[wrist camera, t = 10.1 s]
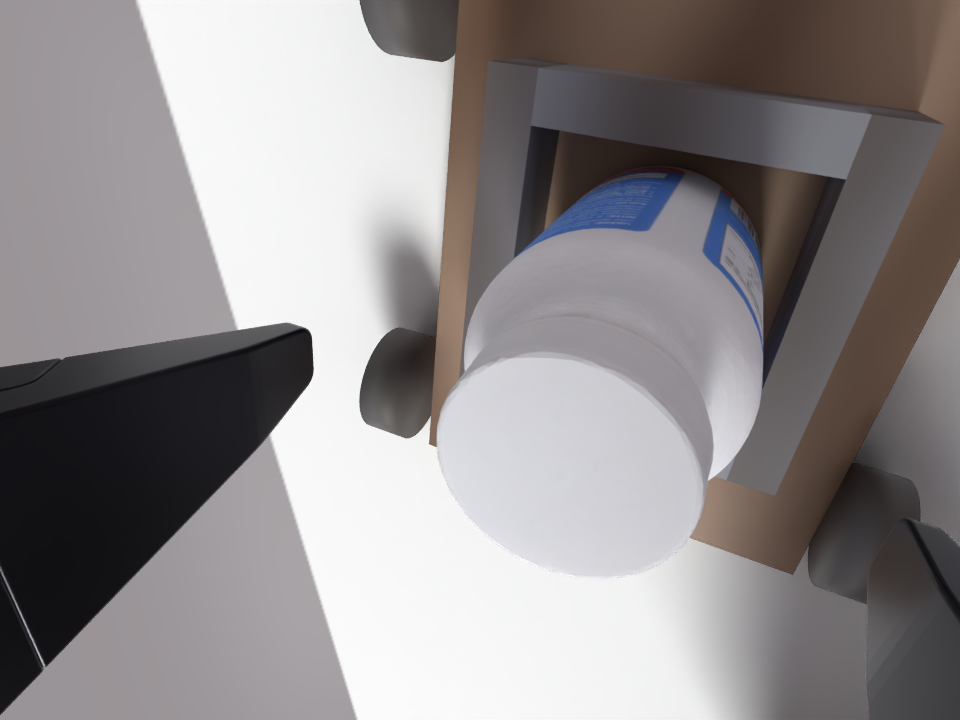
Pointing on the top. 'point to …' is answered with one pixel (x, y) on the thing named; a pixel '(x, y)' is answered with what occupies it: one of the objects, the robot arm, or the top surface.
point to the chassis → (754, 184)
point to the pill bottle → (610, 376)
